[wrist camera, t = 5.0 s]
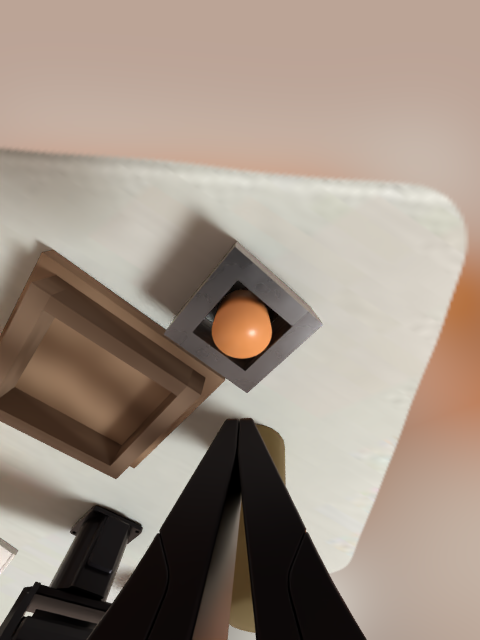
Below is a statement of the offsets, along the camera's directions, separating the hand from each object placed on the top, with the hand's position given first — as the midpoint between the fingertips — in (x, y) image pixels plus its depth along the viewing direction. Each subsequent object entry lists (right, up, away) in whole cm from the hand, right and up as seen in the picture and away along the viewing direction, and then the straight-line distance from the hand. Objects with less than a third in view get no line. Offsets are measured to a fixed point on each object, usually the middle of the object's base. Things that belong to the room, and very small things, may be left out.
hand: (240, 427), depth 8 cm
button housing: (0, +4, +10) cm, 11 cm away
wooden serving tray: (-11, -1, +12) cm, 17 cm away
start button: (0, +4, +9) cm, 10 cm away
